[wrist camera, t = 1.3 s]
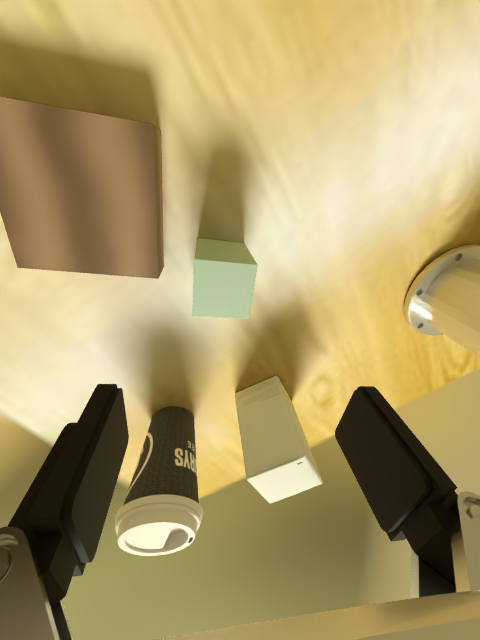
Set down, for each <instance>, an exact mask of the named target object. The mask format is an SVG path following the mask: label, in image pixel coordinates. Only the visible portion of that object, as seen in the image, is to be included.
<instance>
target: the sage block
mask: <svg viewBox="0 0 480 640" xmlns="http://www.w3.org/2000/svg"><path fill="white" fill-rule="evenodd" d="M256 271H257V263H256V262H255V260H254V258H253V257H252V255H251V253H250V252H249V250H248V248H247V247H246V245H245V243H241V242H231V241H222V240H213V239H203V238H197V245H196V253H195V262H194V286H193V311H192V316H204V317H222V318H240V319H249V313H250V307H251V301H252V295H253V289H254V283H255V277H256Z"/></svg>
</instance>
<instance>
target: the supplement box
mask: <svg viewBox="0 0 480 640" xmlns="http://www.w3.org/2000/svg"><path fill="white" fill-rule="evenodd" d="M235 400H236V407H237V414H238V421H239V428H240V435H241V442H242V449H243V457H244V464H245V471H246V479H247V480H248V481H249V482H250V483H251V484H252V485H253V486H254V487H255V488H256V490H257V491H258V492H259V493H260V494H261V495H262V496H263V497H264V498H265V499H266V500H267V501H268V502H269V503H272V502H275V501H278V500H281V499H284V498H286V497H289V496H292V495H294V494H297V493H300V492H302V491H305V490H307V489H310V488H312V487H314V486H317V485H320V484H322V480H321V477H320V474H319V472H318V469H317V466H316V463H315V461H314V458H313V455H312V453H311V450H310V448H309V445H308V443H307V440H306V438H305V435H304V432H303V430H302V427H301V425H300V422H299V420H298V417H297V414H296V412H295V409H294V406H293V404H292V401H291V399H290V397H289V396H288V394H287V392H286V390H285V388H284V386H283V385H282V383H281V381H280V379H279V378H278V376H277V375H276V376H274V377H271V378H269V379H267V380H264V381H262V382H260V383H257V384H255V385H253V386H250V387H248V388H246V389H244V390H241V391H239V392H237V393H235Z"/></svg>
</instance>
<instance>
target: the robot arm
mask: <svg viewBox="0 0 480 640" xmlns="http://www.w3.org/2000/svg"><path fill="white" fill-rule="evenodd" d="M404 315H405V318H406V321H407V322H408V323H409V325H410V326H411V327H413V328H414V329H415V330H416V331H418V332H420V333H422V334H425V335H443V334H444V335H446V336H447V337H449V338H450V339H452V340H454V341H455V342H457V343H458V344H460V345H461V346H463V347H464V348H466V349H467V350H469V351H470V352H472V353H474V354H475V355H477V356H478V357H480V245H465V246H461V247H458V248H454V249H452V250H450V251H448V252H446V253H444V254H442V255H441V256H439V257H438V258H436V259H435V260H434V261H432V262H431V263H430V264H429V265H428V266H426V267H425V268H424V270H423V271H422V272H421V273H420V274H419V275H418V276H417V278H416V279H415V280H414V282H413V283H412V285H411V287H410V289H409V291H408V293H407V296H406V299H405V305H404ZM335 436H336V439H337V441H338V443H339V445H340V447H341V449H342V451H343V453H344V455H345V457H346V459H347V461H348V463H349V465H350V467H351V469H352V471H353V473H354V475H355V477H356V479H357V481H358V483H359V485H360V487H361V489H362V491H363V493H364V495H365V497H366V499H367V501H368V503H369V505H370V507H371V509H372V511H373V513H374V515H375V517H376V519H377V521H378V523H379V525H380V527H381V528H382V529H383V530H384V531H385V532H386V533H387V535H388V536H389V538H390V540H391V541H399V540H405V539H407V540H408V542H409V544H410V546H411V578H410V599H406V600H399V601H393V602H386V603H380V604H373V605H367V606H359V607H353V608H347V609H340V610H334V611H328V612H321V613H315V614H308V615H302V616H295V617H290V618H283V619H276V620H270V621H264V622H257V623H251V624H245V625H239V626H233V627H226V628H220V629H214V630H208V631H202V632H196V633H190V634H183V635H177V636H171V637H166V638H160V639H155V640H480V496H479V495H477V494H474V493H471V492H462V493H460V494H459V495H457V494H456V492H455V491H454V490H455V489H456V488H457V487H456V485H455V484H454V483H453V482H452V481H451V479H450V478H449V477H448V476H447V474H446V473H445V472H444V471H443V469H442V468H441V467H440V466H439V465H438V463H437V462H436V461H435V460H434V459H433V457H432V456H431V455H430V454H429V452H428V451H427V450H426V449H425V447H424V446H423V445H422V444H421V443H420V441H419V440H418V439H417V438H416V436H415V435H414V434H413V433H412V431H411V430H410V429H409V428H408V426H407V425H406V424H405V423H404V422H403V420H402V419H401V418H400V417H399V415H398V414H397V413H396V412H395V411H394V409H393V408H392V407H391V406H390V404H389V403H388V402H387V401H386V400H385V398H384V397H383V396H382V395H381V393H380V392H379V391H378V390H377V389H376V388H375V387H366V386H360V387H358V388H357V390H355V391H354V393H353V395H352V397H351V399H350V401H349V403H348V405H347V407H346V409H345V411H344V414H343V416H342V418H341V420H340V422H339V424H338V426H337V428H336V431H335ZM128 438H129V435H128V427H127V420H126V413H125V405H124V398H123V391H122V388H117V385H116V384H98V385H97V387H96V388H95V390H94V392H93V394H92V396H91V398H90V400H89V401H88V403H87V405H86V407H85V409H84V411H83V413H82V415H81V417H80V418H79V420H78V422H77V423H69V424H67V425H66V426H65V427H64V429H63V430H62V432H61V434H60V435H59V437H58V439H57V441H56V442H55V444H54V446H53V448H52V449H51V451H50V453H49V455H48V456H47V458H46V460H45V462H44V464H43V465H42V467H41V469H40V470H39V472H38V474H37V476H36V477H35V479H34V481H33V483H32V484H31V486H30V488H29V490H28V492H27V493H26V495H25V497H24V499H23V500H22V502H21V504H20V505H19V507H18V509H17V511H16V513H15V514H14V516H13V518H12V519H11V521H10V523H9V525H8V526H7V527H2V528H0V640H74V636H73V633H72V630H71V627H70V624H69V620H68V617H67V614H66V611H65V608H64V605H63V602H62V599H63V598H64V597H65V596H66V593H67V590H68V587H69V584H70V581H71V578H72V576H81V575H82V574H83V572H84V568H85V565H86V563H90V562H92V560H93V558H94V556H95V553H96V550H97V546H98V543H99V540H100V536H101V533H102V529H103V526H104V522H105V519H106V516H107V512H108V509H109V505H110V502H111V499H112V496H113V492H114V489H115V485H116V482H117V479H118V475H119V472H120V468H121V465H122V462H123V458H124V455H125V452H126V448H127V445H128Z"/></svg>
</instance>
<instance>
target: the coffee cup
mask: <svg viewBox="0 0 480 640" xmlns="http://www.w3.org/2000/svg"><path fill="white" fill-rule="evenodd" d="M202 516H203V510H202V507H201V506H200V505H199V502H198V485H197V467H196V448H195V429H194V417H193V415H192V414H191V413H190V412H189V411H188V410H186V409H184V408H180V407H166V408H163V409H161V410H159V411H157V412H156V413H155V414H154V416H153V418H152V421H151V424H150V427H149V430H148V433H147V436H146V439H145V442H144V445H143V448H142V451H141V454H140V457H139V460H138V463H137V466H136V469H135V472H134V475H133V478H132V481H131V484H130V487H129V490H128V493H127V496H126V499H125V502H124V505H123V506H122V507H121V508H120V509H119V510H118V512H117V513H116V516H115V530H116V533H117V535H118V545H119V547H120V548H121V549H123V550H124V551H126V552H128V553H131V554H135V555H144V556H154V555H155V556H156V555H163V554H169V553H173V552H176V551H179V550H181V549H183V548H185V547H187V546H188V545H190V544H191V543H192V542H193V540H194V538H195V534H196V531H197V529H198V528H199V526H200V523H201V520H202Z"/></svg>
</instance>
